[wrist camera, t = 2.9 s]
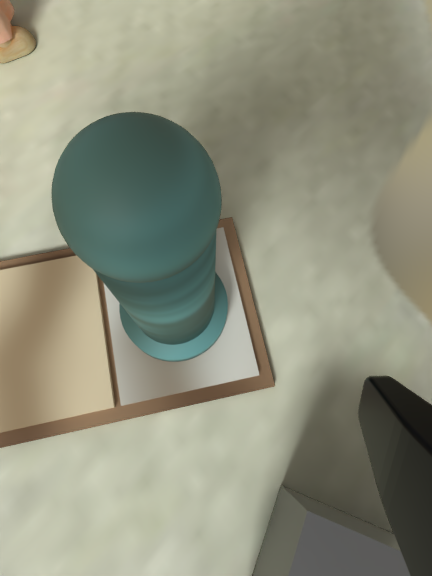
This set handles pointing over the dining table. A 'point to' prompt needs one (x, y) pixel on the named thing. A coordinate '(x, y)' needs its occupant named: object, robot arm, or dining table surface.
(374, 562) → the die
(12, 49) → the grandmother figurine
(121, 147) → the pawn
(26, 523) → the dining table surface
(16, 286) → the board
